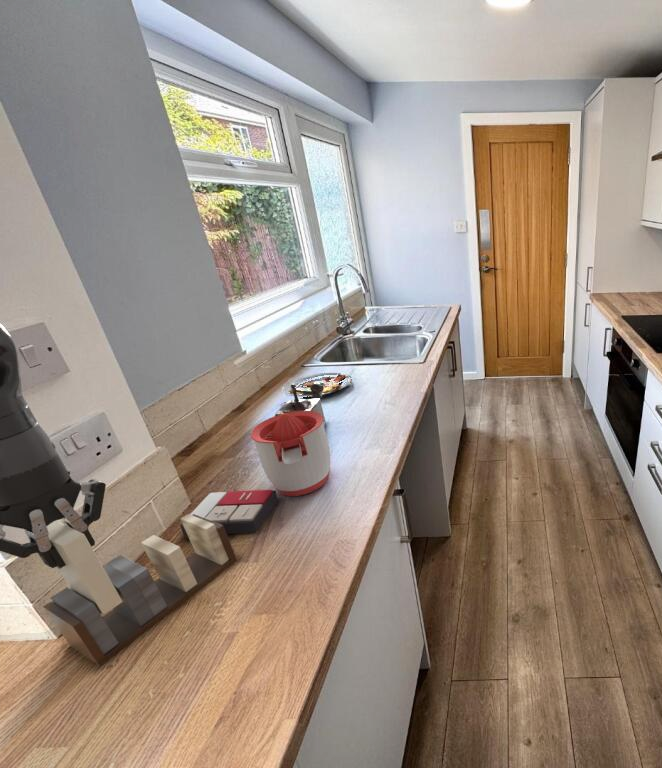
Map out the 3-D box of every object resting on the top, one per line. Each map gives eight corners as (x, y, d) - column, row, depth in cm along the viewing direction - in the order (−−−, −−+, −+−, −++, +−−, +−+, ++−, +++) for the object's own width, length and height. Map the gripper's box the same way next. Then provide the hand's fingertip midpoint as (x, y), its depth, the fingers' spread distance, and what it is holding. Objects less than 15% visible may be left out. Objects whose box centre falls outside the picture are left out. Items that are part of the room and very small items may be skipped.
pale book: (76, 598, 65) (33, 531, 59) (95, 585, 67) (56, 519, 62) (103, 615, 62) (61, 546, 57) (123, 601, 64) (84, 533, 59)
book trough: (69, 645, 65) (39, 601, 61) (208, 547, 84) (192, 509, 80) (100, 666, 62) (69, 622, 58) (237, 560, 80) (221, 521, 77)
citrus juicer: (268, 515, 92) (242, 440, 84) (271, 475, 107) (249, 408, 99) (340, 494, 99) (323, 422, 91) (334, 459, 113) (318, 394, 105)
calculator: (252, 519, 86) (177, 522, 85) (257, 535, 88) (183, 538, 86) (275, 487, 96) (208, 489, 95) (279, 501, 98) (213, 504, 96)
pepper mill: (280, 443, 122) (263, 389, 115) (294, 425, 132) (279, 374, 125) (333, 439, 123) (320, 385, 116) (342, 421, 133) (331, 371, 126)
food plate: (361, 377, 170) (359, 369, 169) (337, 401, 149) (335, 392, 147) (303, 377, 171) (301, 370, 170) (271, 401, 150) (269, 393, 149)
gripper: (69, 432, 61) (116, 521, 68) (-80, 485, 50) (-6, 586, 56) (96, 441, 59) (141, 533, 65) (-55, 500, 47) (20, 604, 54)
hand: (73, 557), depth 61 cm, fingers closed on pale book, 2 cm apart
